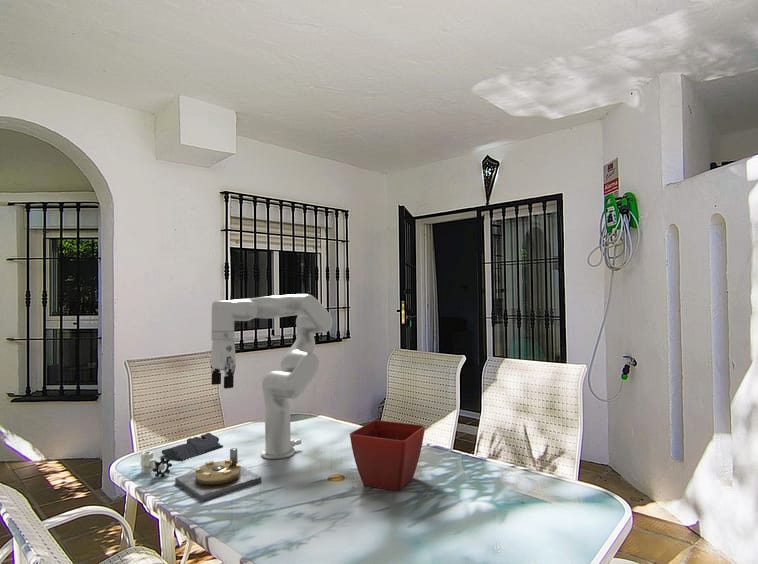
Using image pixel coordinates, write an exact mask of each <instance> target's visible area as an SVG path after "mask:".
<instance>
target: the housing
mask: <svg viewBox="0 0 758 564" xmlns="http://www.w3.org/2000/svg"><path fill="white" fill-rule="evenodd" d="M240 471H241V474H240V476H239V477H238V478H237V479H235V480H233V481H230V482H227V483H223V484H217V485H204V484H200V483H197V482H196V480H195V472H192V473H188V474H185V475H181V476H177V477H175V478H174V479H175V480H174V481H175V482H174V483H175V484H176V485H178V486H179V487H181V488H182V489H184V490H185V491H186V492H188V493H189V494H190V495H192V496H193V497H195V498H197V499H198V500H199V501H200V502H203V501H207V500H210V499H212V498H216V497H219V496H222V495H225V494H228V493H229V494H230V493H232V492H234V491H237V490H241V489H244V488H247V487H251V486H253V485H257V484H260V483H262V476H261V475H258V474H257V473H255V472H253V471H251V470H248V469H247V468H244V467H243V466H241V465H240Z"/></svg>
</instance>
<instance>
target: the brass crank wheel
mask: <svg viewBox="0 0 758 564" xmlns="http://www.w3.org/2000/svg"><path fill="white" fill-rule="evenodd" d="M240 466H241V463H240V462H238V448H236V447H234V448H233V447H232V448H230V449H229V459H224V461H221V460H220V461H214V460H211V461H207V462H205V464H203V465H201V466H197V467H196V468H195V472H194V473H195V480H196V482H197V483H200V484H204V485H217V484H223V483H227V482H230V481H233V480H235V479H237V478H238V477H239V476H240V474H241V471H240Z"/></svg>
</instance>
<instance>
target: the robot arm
mask: <svg viewBox="0 0 758 564" xmlns="http://www.w3.org/2000/svg"><path fill="white" fill-rule="evenodd" d="M291 316H294V317H295V316H296V320H295V325H296V326H295V327H296V339H295V341H294V343H292V345H291V346H290V347H289V349H288V351H286V353H285V355H284V356H283V358H282V359H281V361H280V369H281V370H273V371H269V372H267V373H266V374H265V376H263V378H262V383H261V388H262V394H263V399H264V431H265V432H264V435H265V436H264V437H265V445H264V446H265V448H264V449H262V450H261V452H260V453H261V454H260V455H261V457H262V458H264V459H268V460H280V459H286V458H289V457H292V456H293V455H294V454H295V453H296V452H295V451H296V450H295V448H294V447H295V446H300V445H301V444H302V440H301V439H300V438H298V439H296V440H295V439H291V435H292V434H291V432H292V431H291V403H290V400H295V399H297V398H299V397H300V396H301V395H303V393H304V392H305V391H306V389H307V387H308V386H309V385H310V383H311V382H312V380H313V379H314V377H315V376H316V374H317V373H318V370H319V365H320V361H319V357H318V355H316V353H315V352H314V351H315V348H316V340H315V336H314V335H315V334H314V333H317V334H318V333H319V334H320V333H322V334H323V333H327V332H329V331H330V330H331V329H332V327H333V317H332V315H331V313H330V312H329V311H328V310H327V308H326V307H324V305H323V304H322V303H321V302H320V301H319V300H318V299H317V298H316V297H315V296H314V295H312V294H309V293H296V294H294V293H293V294H292V293H291V294H282V295H269V296H260V297H259V296H258V297H252V298H239V299H228V300H214V301H213V302H212V303H211V331H210V332H211V336H210V337H211V338H210V339H211V342H212V344H211V355H210V356H211V357H210V358H211V359H210V368H211V370H210V371H211V372H210V373H211V385H212V386H216V385H217V386H218V385H221V384H222V372H221V371H223V374H224V376H223V389H233V388H234V377H235V371H236V367H237V366H236V365H237V361H236V359H237V358H236V346H235V345H236V344H235V322H237V321H238V322H247V321H248V322H249V321H251V320H253V319H276V318H277V319H278V318H283V317H291ZM289 399H290V400H289Z"/></svg>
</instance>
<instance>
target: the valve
mask: <svg viewBox="0 0 758 564" xmlns="http://www.w3.org/2000/svg"><path fill="white" fill-rule="evenodd" d="M140 459H141V460H140V467H141V468H140V473H141V474H149V473H153V472H154V473H155V474H154V477H156V478H159V477H160V478H165V476H166V475H165V474H170V473H171V470H170V469H169V468H171V467H173V463H171V459H170V457H166V458H164V457H162V456H161V457H160V459H159V460H160V461H157V460H156V459H154V451H148V450H147V451H144V452H141V454H140Z"/></svg>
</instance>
